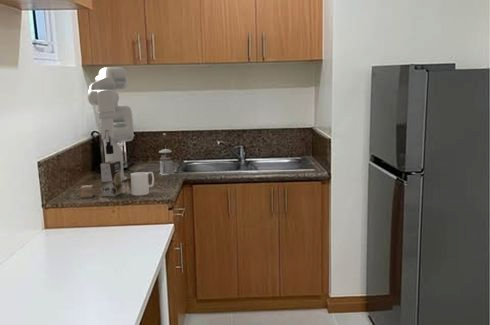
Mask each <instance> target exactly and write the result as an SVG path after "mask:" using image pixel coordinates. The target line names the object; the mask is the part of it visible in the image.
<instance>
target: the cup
mask: <svg viewBox="0 0 490 325" xmlns="http://www.w3.org/2000/svg"><path fill="white" fill-rule="evenodd" d="M150 174H151V178H152V180H151V184H149V175H150ZM130 184H131V186H130V187H131V195H132V196H145V195H149V194H150V188H152V187H154V185H155V176H154V172H153V171H148V172H146V171H139V172H132V173H130Z"/></svg>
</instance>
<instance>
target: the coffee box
mask: <svg viewBox="0 0 490 325" xmlns="http://www.w3.org/2000/svg"><path fill="white" fill-rule="evenodd" d="M100 176H101V177H100V178H101V189H102V190H101V192H102V197H116V196H119V195H121V194H122V193H123V181H122V178H121V163H120V161H109V162H102V163H100Z"/></svg>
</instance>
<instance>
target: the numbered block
mask: <svg viewBox="0 0 490 325" xmlns="http://www.w3.org/2000/svg"><path fill="white" fill-rule="evenodd" d="M93 196H95V195H94V185H93V184H89V185H81V186H80V198H83V199H86V198H93Z"/></svg>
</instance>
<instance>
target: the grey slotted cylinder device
mask: <svg viewBox="0 0 490 325" xmlns="http://www.w3.org/2000/svg"><path fill="white" fill-rule="evenodd" d="M162 135H163V136H167V133H165V132H164V133H162ZM158 153H159V154H161V157H160V158H159V159H160V160H159V171H160V172H159V173H158V175H159V174H161V175H160V176H170V175H169V174H172V175H175V174H176V173H175V172H174V168H173V167H174V166H173V165H174V164H173V163H174V162H173V159H172V157H171V156H169V157H166V154H169V153H173V151H172V150H171V149H169V148H166V146H164V149H161V150H159V151H158ZM163 154H164V155H163Z"/></svg>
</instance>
